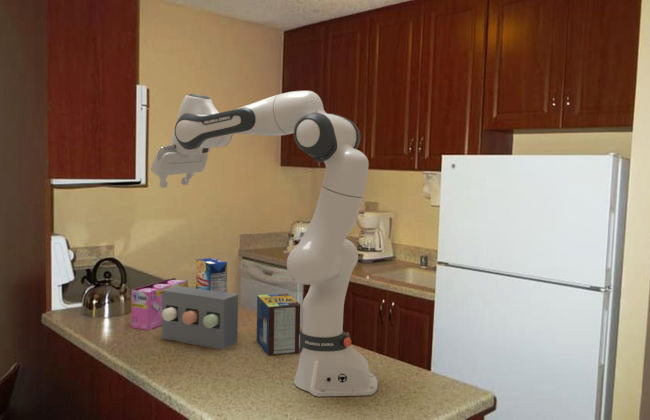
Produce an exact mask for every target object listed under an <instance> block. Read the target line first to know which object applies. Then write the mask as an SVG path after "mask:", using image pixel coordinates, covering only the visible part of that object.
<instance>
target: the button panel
mask: <svg viewBox="0 0 650 420" xmlns="http://www.w3.org/2000/svg"><path fill="white" fill-rule="evenodd" d="M173 306H176V307H178V318H176V319H173V320H170V321H165V320H164V319H163V317H162V325H161V339H163V340H168V341H174V342H180V343H185V344H189V343H190V344H191V345H194V344H195V346H200V347H207V348H212V349H217V350H223V351H225V350H227V349H228V348H231V347H232V346H234V345H236V344H238V329H239V327H238V326H239V325H238V322H239V319H238V318H239V317H238V316H239V294H238V293H237V294H236V293H229V292H227V293H224V292H217V291H210V290H203V289H196V287H195V288H194V287H189V286H188V287H181V286H176V287H173V288H170V289H166V290H163V291H162V312H163V310H164V309H167V308H170V307H173ZM193 309H196V310H198V312H199V320H198V321H197V322H194V323H192V324H189V325H187V324H185V323H184V322H183V320H182V315H183V314H184V313H185V312H188V311H191V310H193ZM212 313H218V314H219V315H220V324H219V325H217V326H214V327H212V328H206V327H205V326H204V324H203V319H204V317H205V316H207V315H210V314H212Z"/></svg>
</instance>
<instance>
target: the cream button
mask: <svg viewBox="0 0 650 420" xmlns="http://www.w3.org/2000/svg"><path fill="white" fill-rule="evenodd" d="M162 317H163V319H164V320H165V321H170V320H173V319H176V318H178V307H176V306H173V307H170V308H167V309H164V310H163V312H162Z"/></svg>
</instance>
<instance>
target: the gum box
mask: <svg viewBox="0 0 650 420" xmlns="http://www.w3.org/2000/svg"><path fill="white" fill-rule="evenodd" d="M188 283H189V280H188V279H185V280H181V279H177V278H175V277H174V278H168V279H164V280H162V281H161V280H160V281H158V282H154V283H151V284H150V283H149V284H147V285H143V286H140V287H136V288H133V289H131V297H130V298H131V304H130V305H131V308H130V309H131V317H130V318H131V319H130V320H131V326H130V327H131V328H133V329H138V330H139V329H140V330H146V331H150V330H152V329H156V328H158V327H160V326H161V327H162V291H163V290H166V289H170V288H173V287H176V286H181V287H188V288H189V285H188ZM155 327H156V328H155Z"/></svg>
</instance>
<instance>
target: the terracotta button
mask: <svg viewBox="0 0 650 420" xmlns="http://www.w3.org/2000/svg"><path fill="white" fill-rule="evenodd" d="M182 320H183V322H184V323H185V324H187V325H189V324H192V323H194V322H197V321H198V320H199V312H198V310H196V309H193V310H191V311H188V312H185V313H184V314H183V315H182Z"/></svg>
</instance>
